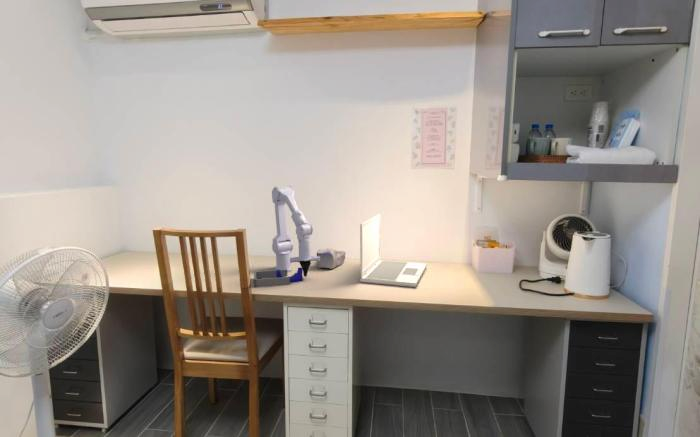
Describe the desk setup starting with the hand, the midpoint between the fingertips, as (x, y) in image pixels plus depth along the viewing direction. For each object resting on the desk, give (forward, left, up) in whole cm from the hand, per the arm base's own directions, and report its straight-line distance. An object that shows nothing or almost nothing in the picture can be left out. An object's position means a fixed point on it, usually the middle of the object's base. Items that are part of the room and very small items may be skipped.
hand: (305, 276), depth 193 cm
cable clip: (+2, -8, -2) cm, 8 cm away
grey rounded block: (-21, +17, -2) cm, 27 cm away
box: (0, -16, -1) cm, 16 cm away
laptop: (+5, +45, -2) cm, 45 cm away
